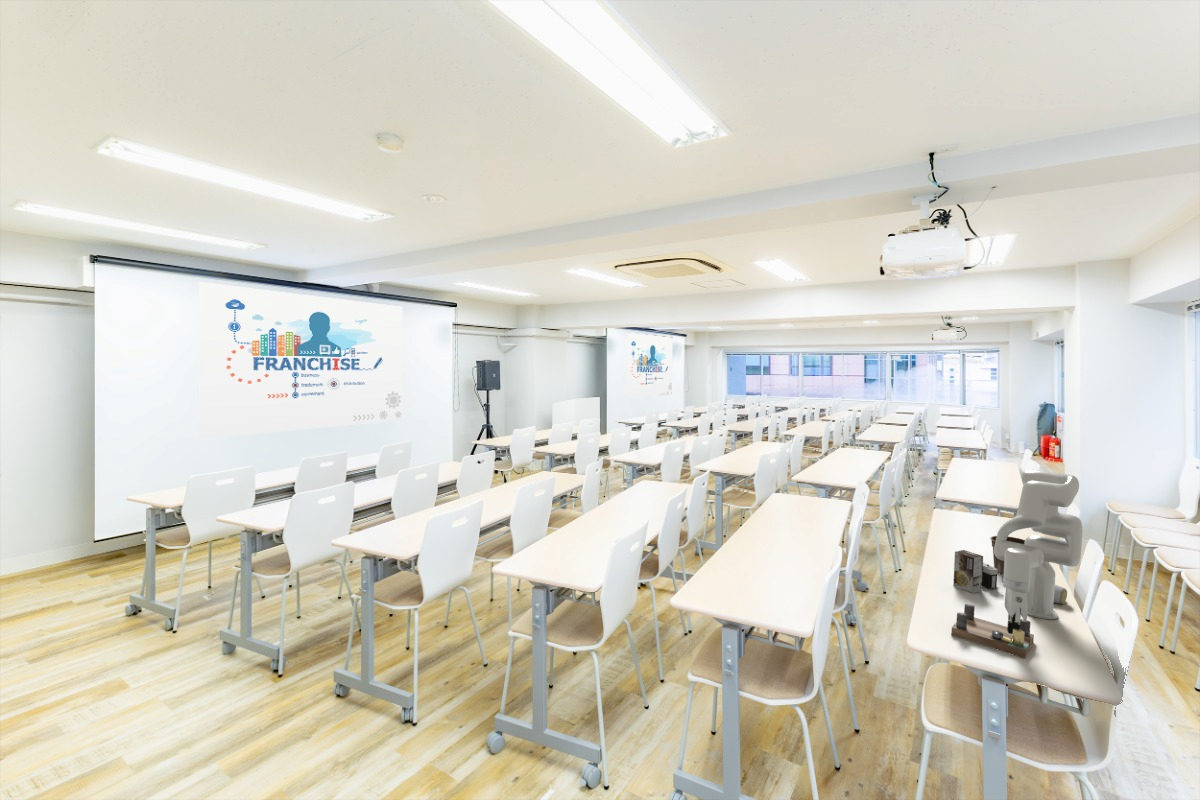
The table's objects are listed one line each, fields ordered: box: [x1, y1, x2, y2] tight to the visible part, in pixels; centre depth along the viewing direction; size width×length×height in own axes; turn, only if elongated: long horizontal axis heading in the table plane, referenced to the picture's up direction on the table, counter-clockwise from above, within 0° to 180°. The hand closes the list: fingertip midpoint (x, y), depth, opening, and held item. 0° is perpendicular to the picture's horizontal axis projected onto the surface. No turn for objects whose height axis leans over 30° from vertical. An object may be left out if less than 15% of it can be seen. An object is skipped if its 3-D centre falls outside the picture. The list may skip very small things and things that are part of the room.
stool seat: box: [950, 603, 1035, 659], centre depth 200 cm, size 16×22×8 cm
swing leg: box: [992, 629, 1025, 647], centre depth 192 cm, size 9×3×5 cm, turn 39°
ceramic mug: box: [1054, 584, 1068, 605], centre depth 233 cm, size 11×8×8 cm
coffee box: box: [953, 549, 984, 594], centre depth 245 cm, size 9×6×16 cm
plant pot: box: [989, 535, 1025, 576], centre depth 264 cm, size 16×16×16 cm
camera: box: [982, 562, 998, 590], centre depth 251 cm, size 14×9×10 cm, turn 0°
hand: (1013, 633), depth 195 cm, fingers closed
